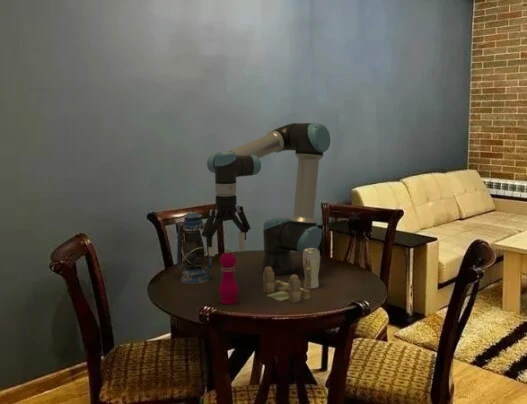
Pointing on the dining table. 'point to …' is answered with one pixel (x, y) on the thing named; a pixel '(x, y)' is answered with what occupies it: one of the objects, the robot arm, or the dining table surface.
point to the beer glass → (311, 267)
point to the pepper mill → (228, 279)
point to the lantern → (193, 250)
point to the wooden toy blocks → (284, 287)
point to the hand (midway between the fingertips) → (227, 252)
